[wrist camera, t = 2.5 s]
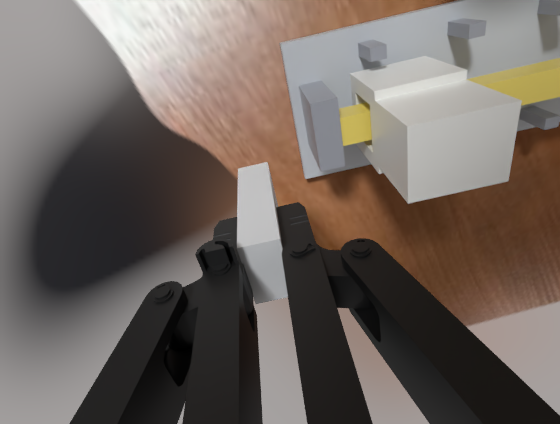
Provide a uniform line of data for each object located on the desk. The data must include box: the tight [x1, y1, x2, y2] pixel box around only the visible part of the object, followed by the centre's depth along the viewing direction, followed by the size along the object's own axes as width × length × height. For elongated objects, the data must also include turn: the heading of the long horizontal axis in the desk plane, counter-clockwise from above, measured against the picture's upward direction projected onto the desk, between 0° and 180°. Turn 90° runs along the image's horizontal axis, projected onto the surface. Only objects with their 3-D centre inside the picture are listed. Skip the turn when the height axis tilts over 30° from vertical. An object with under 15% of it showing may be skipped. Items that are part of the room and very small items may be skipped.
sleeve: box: [350, 56, 522, 204], centre depth 20 cm, size 5×5×9 cm
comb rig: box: [280, 0, 560, 179], centre depth 23 cm, size 29×10×7 cm, turn 101°
